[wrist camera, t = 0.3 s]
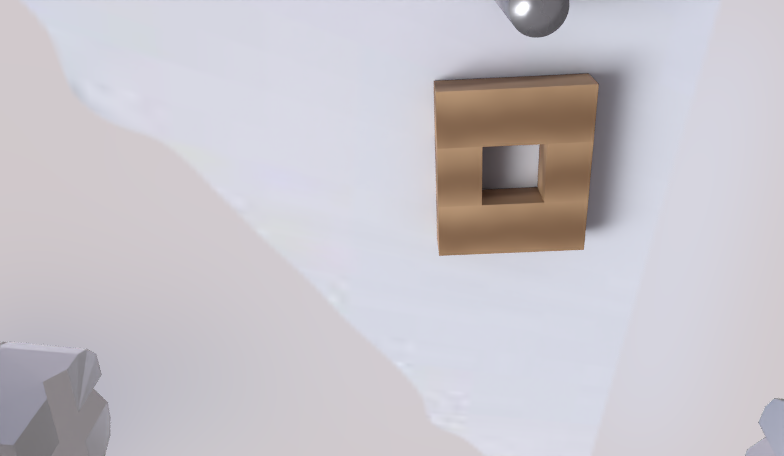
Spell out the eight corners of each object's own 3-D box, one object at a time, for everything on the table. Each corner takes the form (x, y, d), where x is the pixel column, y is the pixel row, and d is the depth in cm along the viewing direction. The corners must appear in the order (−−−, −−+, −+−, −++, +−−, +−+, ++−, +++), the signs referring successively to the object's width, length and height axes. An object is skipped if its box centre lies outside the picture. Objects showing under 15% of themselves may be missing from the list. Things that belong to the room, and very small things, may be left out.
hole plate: (433, 80, 54) (435, 92, 51) (588, 73, 53) (598, 84, 51) (437, 238, 60) (439, 255, 58) (575, 232, 60) (583, 249, 57)
